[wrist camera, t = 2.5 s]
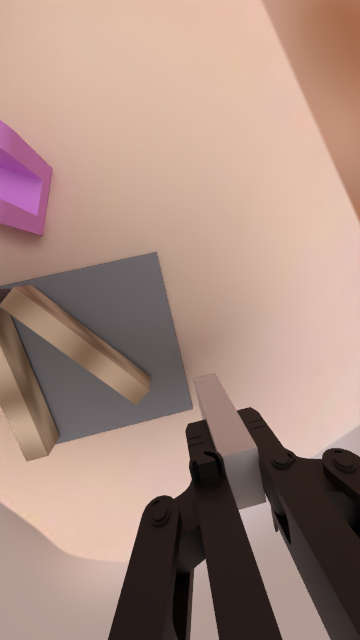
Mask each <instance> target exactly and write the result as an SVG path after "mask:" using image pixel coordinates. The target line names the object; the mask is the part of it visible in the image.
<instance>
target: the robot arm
mask: <svg viewBox="0 0 360 640" xmlns="http://www.w3.org/2000/svg"><path fill="white" fill-rule="evenodd" d="M193 379H194V383H195V388H196V392H197V396H198V401H199V405H200V410H201V414H202V417H203V420H201V421H197V422H194V423H190V424H188V426H187V428H186V431H185V432H186V438H187V444H188V450H189V456H190V461H189V469H190V473H191V477H192V481H191V483H190V485H189V487H188V488H187V489H186V491H185V492H183V493H182V494H181V495H179V496H178V497H176V498H175V499H173V498H172V497H170V496H165V495H163V496H159V497H156V498H155V499H153V500H152V501H150V503H149V504H148V505H147V506H146V508H145V510H144V512H143V514H142V518H141V521H140V525H139V529H138V532H137V536H136V540H135V543H134V547H133V550H132V554H131V558H130V561H129V565H128V569H127V572H126V576H125V580H124V583H123V587H122V590H121V594H120V598H119V601H118V605H117V608H116V612H115V616H114V619H113V623H112V627H111V630H110V634H109V637H108V640H190V630H191V612H192V595H193V594H192V593H193V577H194V568H195V567H196V566H197V565H199V564H200V563H201V562H202V561H203V560H205V559H206V563H207V569H208V575H209V581H210V587H211V593H212V599H213V605H214V611H215V617H216V623H217V629H218V635H219V640H282V637H281V634H280V631H279V628H278V625H277V622H276V619H275V616H274V613H273V610H272V607H271V604H270V602H269V599H268V596H267V593H266V590H265V587H264V584H263V581H262V578H261V575H260V572H259V569H258V566H257V563H256V560H255V557H254V554H253V552H252V549H251V546H250V543H249V540H248V537H247V534H246V531H245V528H244V525H243V522H242V519H241V516H240V513H239V511H238V510H239V509H243V508H247V507H250V506H254V505H258V504H261V503H265V502H266V497H265V494H266V496H267V498H268V500H269V502H270V504H271V511H272V517H273V523H274V527H275V531H276V532H277V531H278V528H279V530H280V532H281V535H282V537H283V539H284V541H285V543H286V545H287V547H288V550H289V552H290V554H291V556H292V558H293V560H294V562H295V565H296V566H297V569H298V571H299V573H300V575H301V577H302V579H303V582H304V584H305V586H306V588H307V590H308V592H309V594H310V596H311V598H312V601H313V603H314V605H315V607H316V609H317V611H318V614H319V616H320V617H321V620H322V622H323V624H324V626H325V628H326V631H327V633H328V635H329V637H330V639H331V640H360V457H359V456H358V455H356V454H354V453H352V452H350V451H348V450H344V449H340V448H332V449H328V450H326V451H325V452H324V453H323V456H322V459H307V458H301V457H297V456H296V455H295V454H294V453H293V452H291V451H290V450H288V449H285V448H284V447H283V445H282V444H281V443H280V441H279V440H278V439H277V437H276V436H275V434H274V433H273V432H272V430H271V429H270V428H269V426H268V425H267V423H266V422H265V421H264V420H263V418H262V417H261V415H260V414H259V412H257V411H256V410H254V409H253V408H251V407H249V408H245V409H241V410H237V411H236V409H235V407H234V406H233V404H232V402H231V400H230V399H229V397H228V395H227V393H226V392H225V390H224V388H223V386H222V385H221V383H220V381H219V379H218V378H217V376H216V374H215V373H213V374H209V375H205V376H201V377H197V378H193Z"/></svg>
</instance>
